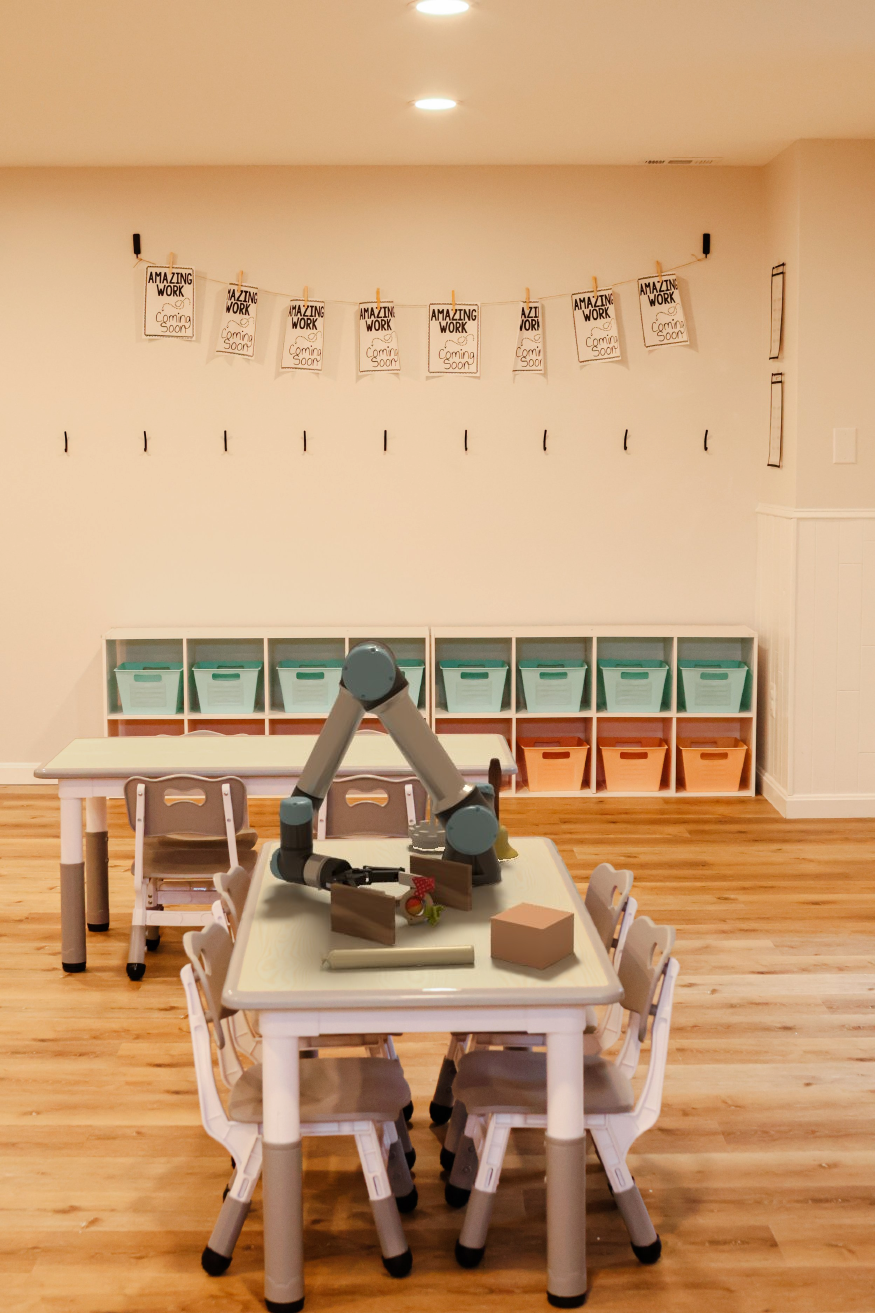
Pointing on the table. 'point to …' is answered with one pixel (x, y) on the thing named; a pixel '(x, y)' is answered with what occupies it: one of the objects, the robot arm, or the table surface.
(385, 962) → the tan piece
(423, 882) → the bird rattle
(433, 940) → the table surface
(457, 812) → the robot arm
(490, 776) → the handbell
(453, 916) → the table surface
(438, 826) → the flag stand
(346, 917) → the walnut slot
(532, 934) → the terracotta stand
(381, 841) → the table surface
